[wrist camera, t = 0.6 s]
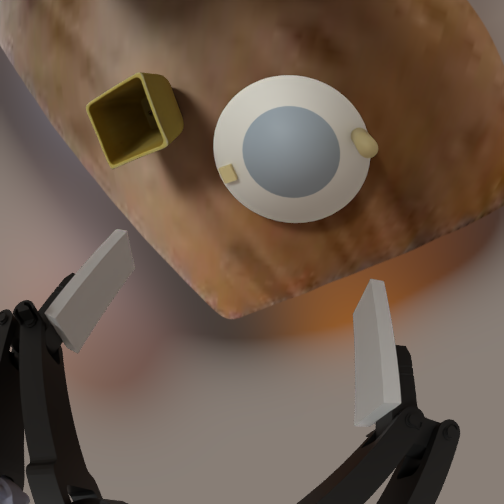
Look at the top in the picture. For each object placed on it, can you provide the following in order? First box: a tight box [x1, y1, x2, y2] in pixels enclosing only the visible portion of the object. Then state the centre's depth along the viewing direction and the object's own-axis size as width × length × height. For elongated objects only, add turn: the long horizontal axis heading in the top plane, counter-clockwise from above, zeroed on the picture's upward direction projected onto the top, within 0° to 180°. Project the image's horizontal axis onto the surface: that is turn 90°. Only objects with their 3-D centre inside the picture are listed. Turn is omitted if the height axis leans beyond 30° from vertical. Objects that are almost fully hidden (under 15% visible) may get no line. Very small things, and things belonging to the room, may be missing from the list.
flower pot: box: [86, 73, 184, 169], centre depth 28 cm, size 9×9×9 cm
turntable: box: [213, 75, 378, 223], centre depth 28 cm, size 18×18×7 cm
